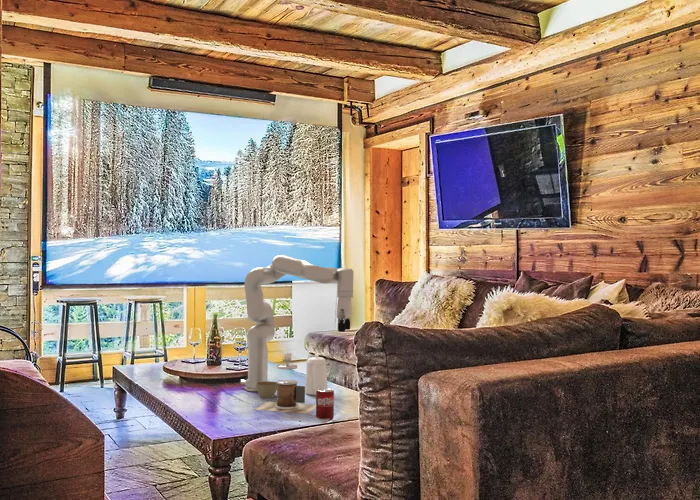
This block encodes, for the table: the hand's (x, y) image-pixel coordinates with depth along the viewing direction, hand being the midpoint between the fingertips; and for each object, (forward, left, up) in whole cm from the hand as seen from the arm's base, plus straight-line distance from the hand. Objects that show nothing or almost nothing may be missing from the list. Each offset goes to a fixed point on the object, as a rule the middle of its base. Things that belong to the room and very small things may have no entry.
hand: (344, 330), depth 314 cm
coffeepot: (-14, +1, -31) cm, 34 cm away
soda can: (+4, -45, -31) cm, 55 cm away
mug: (-14, -35, -30) cm, 48 cm away
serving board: (-16, -35, -31) cm, 49 cm away
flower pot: (-32, -17, -31) cm, 48 cm away
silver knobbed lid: (-16, -35, -13) cm, 40 cm away
